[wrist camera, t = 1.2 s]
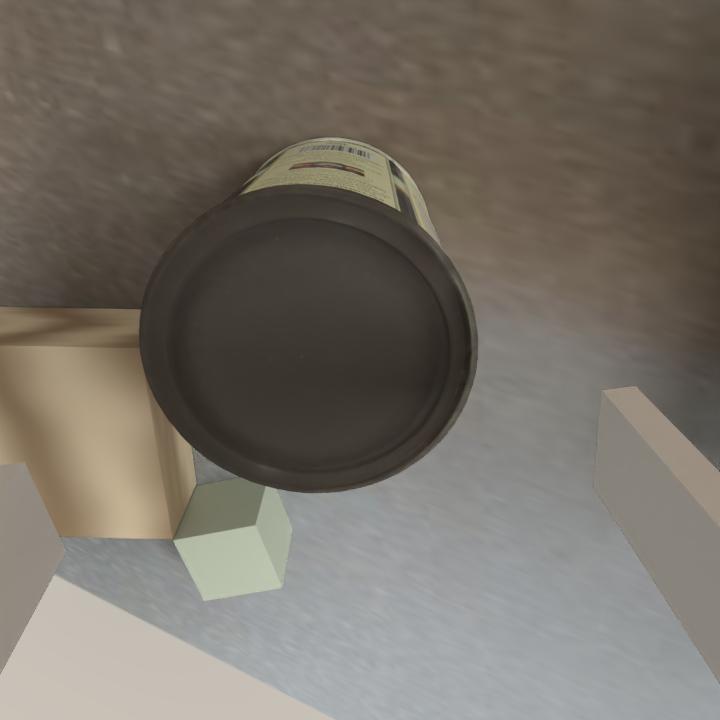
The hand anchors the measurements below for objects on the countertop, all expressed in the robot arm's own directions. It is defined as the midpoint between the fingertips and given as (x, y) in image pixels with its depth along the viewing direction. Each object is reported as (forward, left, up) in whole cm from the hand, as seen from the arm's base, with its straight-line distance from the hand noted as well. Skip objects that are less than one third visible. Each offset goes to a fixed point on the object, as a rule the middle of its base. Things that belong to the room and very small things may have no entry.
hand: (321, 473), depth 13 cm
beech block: (+16, +10, -19) cm, 26 cm away
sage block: (+7, +18, -19) cm, 27 cm away
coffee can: (+1, 0, -19) cm, 19 cm away
